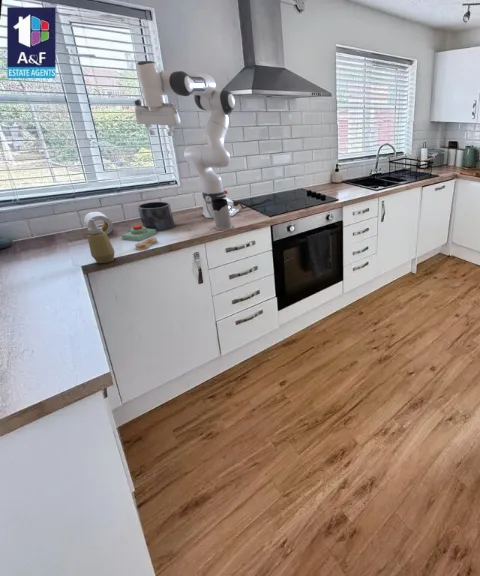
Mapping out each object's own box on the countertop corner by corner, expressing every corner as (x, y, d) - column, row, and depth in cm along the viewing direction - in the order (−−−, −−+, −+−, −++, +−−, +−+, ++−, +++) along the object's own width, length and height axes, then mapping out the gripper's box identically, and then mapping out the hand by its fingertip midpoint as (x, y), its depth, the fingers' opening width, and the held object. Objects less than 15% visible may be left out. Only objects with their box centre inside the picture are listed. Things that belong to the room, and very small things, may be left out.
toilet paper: (115, 233, 187) (109, 214, 182) (91, 237, 180) (84, 217, 176) (110, 228, 193) (105, 210, 188) (87, 232, 186) (80, 213, 182)
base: (141, 231, 190) (138, 224, 189) (156, 233, 189) (154, 225, 187) (122, 239, 180) (120, 231, 178) (138, 240, 179) (136, 232, 177)
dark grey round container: (156, 222, 205) (151, 200, 200) (180, 224, 203) (175, 202, 198) (136, 230, 192) (130, 207, 187) (162, 232, 190) (156, 209, 185)
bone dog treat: (151, 241, 178) (150, 236, 177) (159, 242, 178) (158, 237, 177) (133, 249, 168) (132, 244, 167) (142, 250, 168) (140, 245, 167)
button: (137, 227, 185) (136, 224, 184) (144, 228, 184) (143, 225, 183) (132, 230, 182) (131, 226, 181) (138, 230, 181) (137, 227, 180)
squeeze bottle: (92, 266, 151) (77, 223, 143) (95, 259, 157) (81, 218, 149) (116, 263, 154) (102, 221, 146) (118, 256, 161) (105, 216, 153)
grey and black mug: (224, 231, 196) (219, 203, 189) (204, 227, 200) (198, 199, 194) (236, 226, 203) (231, 199, 196) (216, 223, 208) (211, 196, 201)
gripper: (180, 103, 168) (186, 136, 174) (140, 101, 170) (147, 134, 176) (170, 103, 162) (177, 136, 168) (129, 101, 165) (137, 134, 171)
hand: (161, 135), depth 172 cm, fingers open, 8 cm apart
